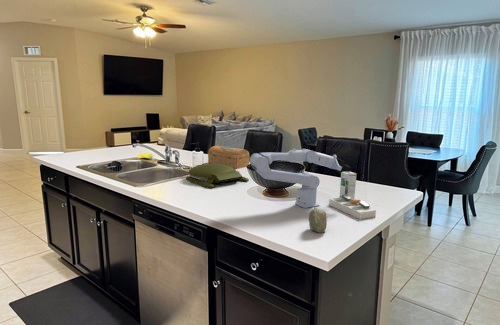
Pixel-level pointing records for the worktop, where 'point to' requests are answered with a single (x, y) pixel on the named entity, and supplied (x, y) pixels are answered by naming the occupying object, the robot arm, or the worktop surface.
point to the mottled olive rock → (317, 220)
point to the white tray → (352, 208)
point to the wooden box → (228, 156)
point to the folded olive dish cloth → (214, 174)
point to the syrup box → (348, 184)
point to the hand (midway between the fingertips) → (346, 166)
